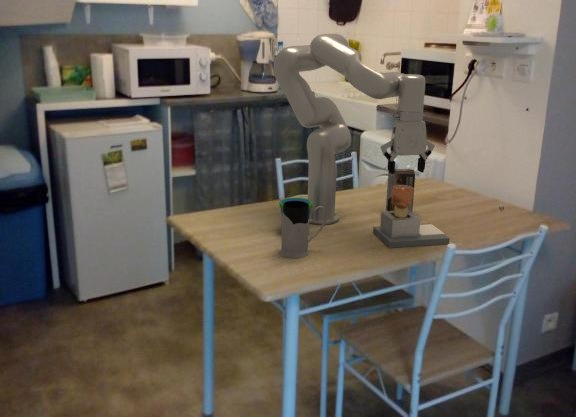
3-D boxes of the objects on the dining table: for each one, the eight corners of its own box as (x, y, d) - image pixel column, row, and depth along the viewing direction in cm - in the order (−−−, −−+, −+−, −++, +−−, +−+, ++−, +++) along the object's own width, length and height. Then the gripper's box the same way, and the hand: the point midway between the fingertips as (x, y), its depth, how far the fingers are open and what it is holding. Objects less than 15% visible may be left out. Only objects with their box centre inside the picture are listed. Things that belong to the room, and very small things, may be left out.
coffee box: (410, 212, 224) (414, 169, 219) (412, 218, 218) (416, 173, 213) (384, 211, 225) (388, 167, 220) (385, 216, 219) (389, 172, 214)
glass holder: (275, 248, 187) (276, 201, 182) (319, 244, 192) (321, 197, 187) (285, 259, 179) (287, 210, 174) (330, 254, 184) (333, 206, 179)
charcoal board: (389, 248, 190) (390, 241, 189) (372, 232, 203) (373, 226, 202) (449, 244, 195) (449, 238, 194) (428, 229, 208) (429, 223, 207)
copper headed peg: (393, 237, 193) (397, 190, 189) (385, 230, 199) (389, 185, 195) (412, 235, 195) (417, 190, 190) (404, 229, 201) (408, 184, 196)
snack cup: (273, 224, 207) (274, 195, 204) (304, 223, 210) (305, 194, 207) (285, 241, 193) (285, 210, 190) (317, 239, 196) (318, 208, 192)
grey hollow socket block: (391, 238, 192) (392, 220, 190) (380, 228, 200) (381, 211, 198) (418, 237, 194) (420, 219, 192) (406, 227, 203) (408, 209, 201)
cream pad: (421, 236, 194) (421, 235, 194) (409, 227, 203) (409, 225, 202) (444, 235, 196) (444, 233, 196) (431, 225, 205) (431, 224, 204)
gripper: (387, 119, 180) (384, 176, 185) (442, 117, 184) (437, 173, 189) (378, 115, 187) (375, 170, 192) (430, 114, 191) (426, 168, 196)
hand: (405, 172), depth 191 cm, fingers open, 9 cm apart
